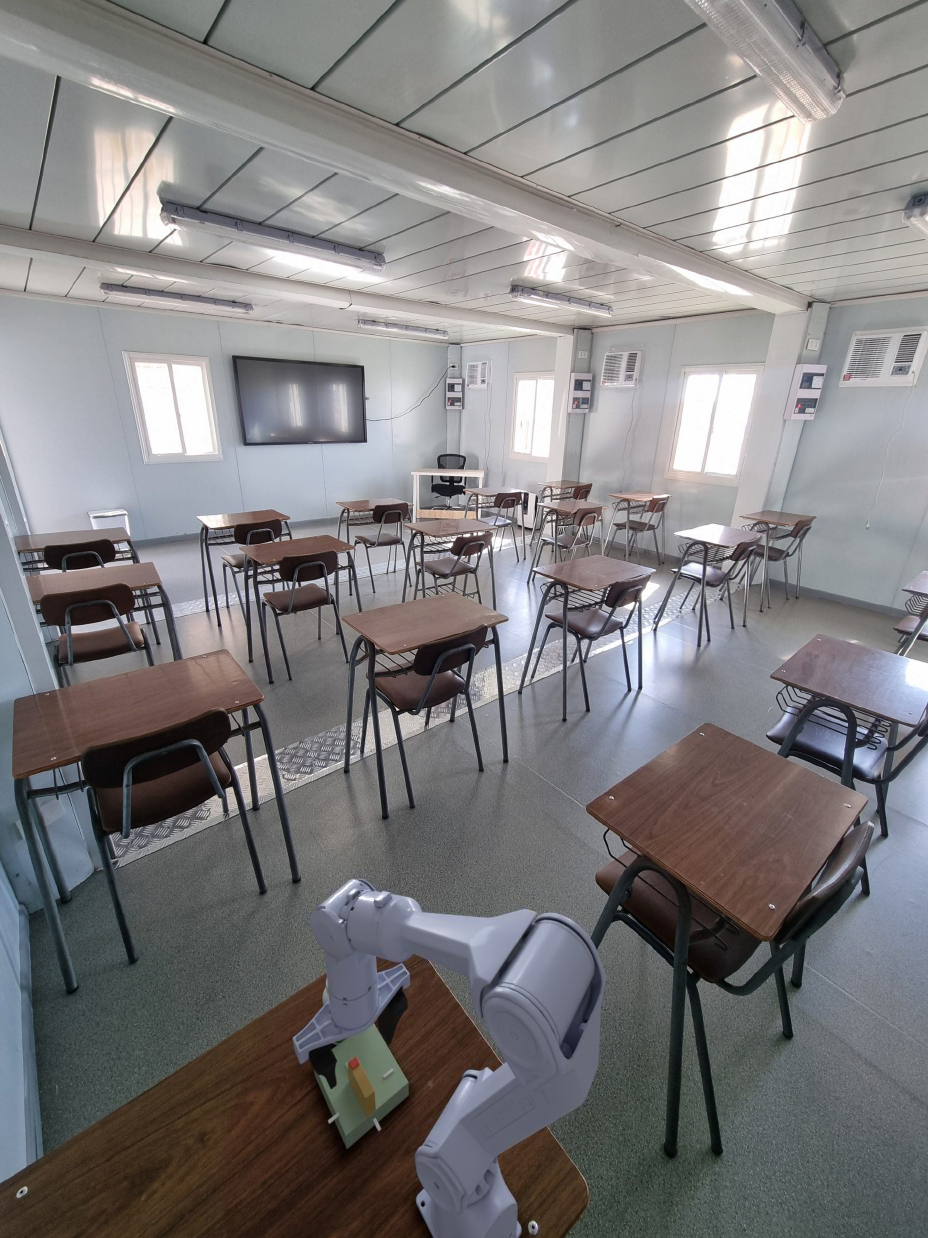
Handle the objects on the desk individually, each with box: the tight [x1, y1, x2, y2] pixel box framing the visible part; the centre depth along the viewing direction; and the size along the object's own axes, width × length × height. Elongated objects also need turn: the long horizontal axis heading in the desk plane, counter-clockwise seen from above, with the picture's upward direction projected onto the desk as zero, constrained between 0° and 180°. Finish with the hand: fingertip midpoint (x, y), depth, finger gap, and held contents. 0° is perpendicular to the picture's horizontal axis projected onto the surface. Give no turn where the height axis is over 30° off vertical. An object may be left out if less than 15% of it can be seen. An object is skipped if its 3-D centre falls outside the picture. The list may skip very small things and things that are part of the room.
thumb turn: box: [347, 1056, 376, 1117], centre depth 64 cm, size 5×1×4 cm, turn 39°
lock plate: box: [313, 1022, 410, 1149], centre depth 67 cm, size 12×10×3 cm
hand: (358, 1058), depth 63 cm, fingers open, 7 cm apart
